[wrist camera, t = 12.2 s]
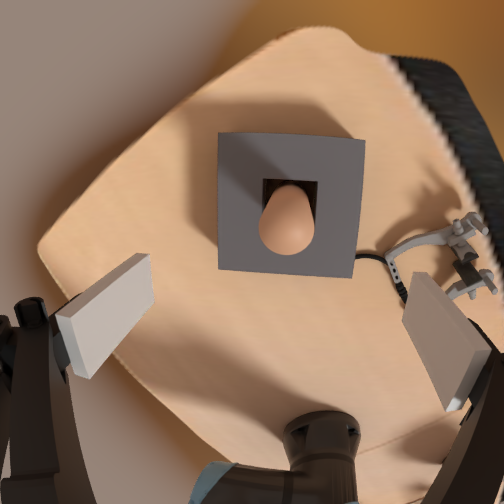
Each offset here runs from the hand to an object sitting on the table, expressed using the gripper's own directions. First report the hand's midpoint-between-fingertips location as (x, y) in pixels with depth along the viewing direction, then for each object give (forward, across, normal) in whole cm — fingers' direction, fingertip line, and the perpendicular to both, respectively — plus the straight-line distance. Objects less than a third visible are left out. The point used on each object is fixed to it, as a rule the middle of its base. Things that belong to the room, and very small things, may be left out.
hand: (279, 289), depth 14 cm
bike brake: (+26, -20, +8) cm, 34 cm away
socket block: (+25, 0, 0) cm, 25 cm away
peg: (+25, 0, 0) cm, 25 cm away
